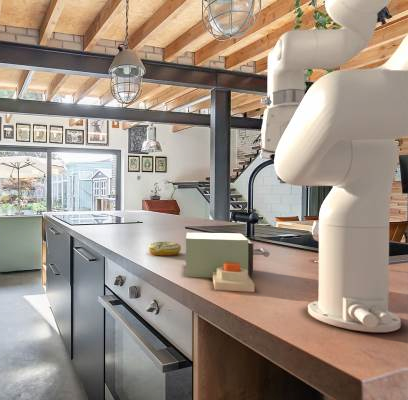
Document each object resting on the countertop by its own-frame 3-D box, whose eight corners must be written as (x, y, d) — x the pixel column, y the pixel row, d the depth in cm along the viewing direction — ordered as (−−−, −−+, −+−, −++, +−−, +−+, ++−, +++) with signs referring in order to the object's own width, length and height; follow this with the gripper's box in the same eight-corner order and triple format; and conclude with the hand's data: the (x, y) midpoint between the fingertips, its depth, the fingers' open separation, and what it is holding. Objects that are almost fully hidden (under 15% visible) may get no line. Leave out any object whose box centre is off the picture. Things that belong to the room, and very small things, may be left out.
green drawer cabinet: (241, 268, 97) (241, 233, 97) (248, 279, 85) (248, 239, 84) (186, 266, 100) (186, 232, 100) (186, 276, 88) (185, 238, 88)
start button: (241, 273, 78) (241, 265, 78) (224, 272, 79) (224, 264, 79) (239, 269, 81) (239, 262, 81) (222, 269, 82) (222, 261, 82)
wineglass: (338, 264, 101) (338, 222, 101) (316, 263, 102) (316, 222, 102) (329, 260, 107) (330, 220, 106) (308, 259, 108) (309, 220, 107)
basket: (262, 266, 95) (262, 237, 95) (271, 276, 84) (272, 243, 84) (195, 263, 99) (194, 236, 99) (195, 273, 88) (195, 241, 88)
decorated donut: (143, 252, 123) (143, 241, 123) (170, 250, 127) (170, 240, 127) (157, 257, 114) (157, 245, 113) (186, 255, 117) (186, 243, 117)
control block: (254, 292, 74) (254, 275, 74) (214, 289, 76) (214, 273, 76) (247, 280, 84) (247, 265, 84) (212, 278, 86) (212, 264, 86)
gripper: (253, 100, 78) (253, 183, 79) (328, 95, 75) (327, 182, 75) (248, 108, 85) (248, 183, 86) (316, 104, 82) (315, 183, 82)
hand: (285, 183), depth 81 cm, fingers closed
